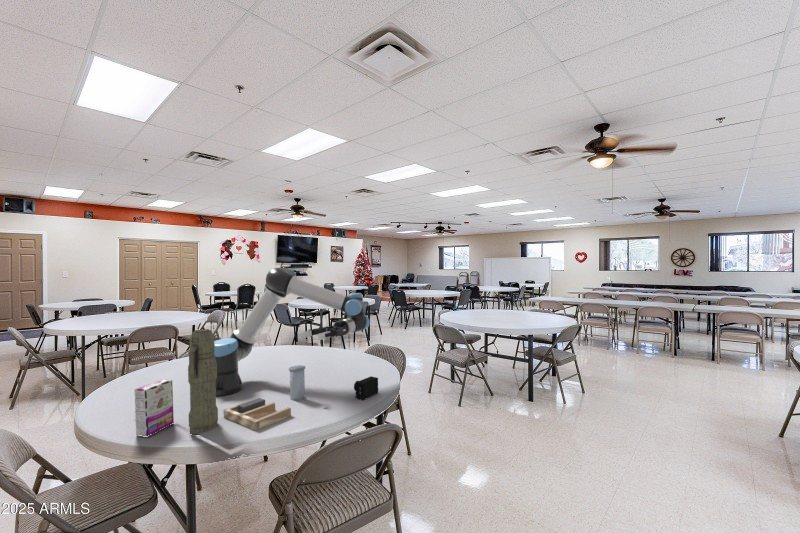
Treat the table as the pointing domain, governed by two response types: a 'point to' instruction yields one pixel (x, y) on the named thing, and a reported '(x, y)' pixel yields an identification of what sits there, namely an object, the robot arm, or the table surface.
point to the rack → (257, 416)
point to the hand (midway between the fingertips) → (308, 336)
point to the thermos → (202, 382)
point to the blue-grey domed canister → (297, 382)
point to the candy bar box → (154, 407)
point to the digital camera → (366, 387)
